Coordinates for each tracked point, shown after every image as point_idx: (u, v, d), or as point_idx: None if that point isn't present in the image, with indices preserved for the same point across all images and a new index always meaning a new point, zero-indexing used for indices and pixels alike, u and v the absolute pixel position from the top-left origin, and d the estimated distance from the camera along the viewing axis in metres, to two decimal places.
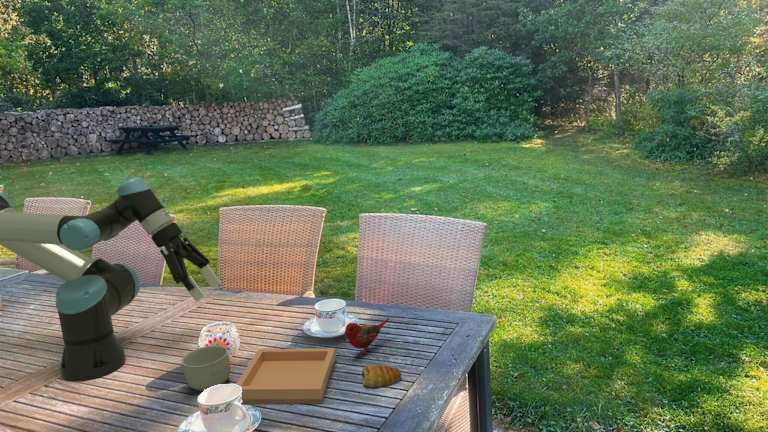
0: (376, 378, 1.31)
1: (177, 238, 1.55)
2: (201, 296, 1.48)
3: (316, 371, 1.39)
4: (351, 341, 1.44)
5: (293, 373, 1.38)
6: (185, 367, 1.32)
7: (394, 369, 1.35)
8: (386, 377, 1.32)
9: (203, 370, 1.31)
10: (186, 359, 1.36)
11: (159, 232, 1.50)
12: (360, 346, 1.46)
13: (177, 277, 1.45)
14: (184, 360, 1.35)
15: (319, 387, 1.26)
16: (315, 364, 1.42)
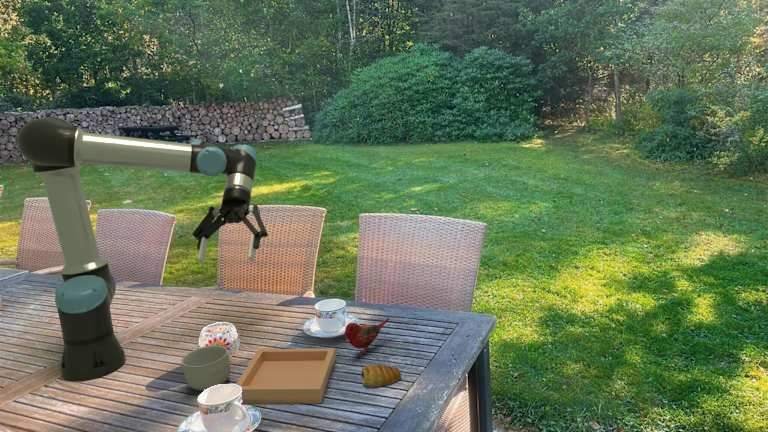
0: (376, 378, 1.32)
1: None
2: (253, 258, 1.50)
3: (316, 371, 1.39)
4: (351, 341, 1.44)
5: (293, 373, 1.38)
6: (185, 367, 1.32)
7: (393, 368, 1.35)
8: (386, 377, 1.32)
9: (203, 370, 1.31)
10: (186, 359, 1.36)
11: (250, 195, 1.60)
12: (360, 346, 1.46)
13: (266, 232, 1.53)
14: (184, 360, 1.35)
15: (319, 387, 1.26)
16: (315, 364, 1.42)
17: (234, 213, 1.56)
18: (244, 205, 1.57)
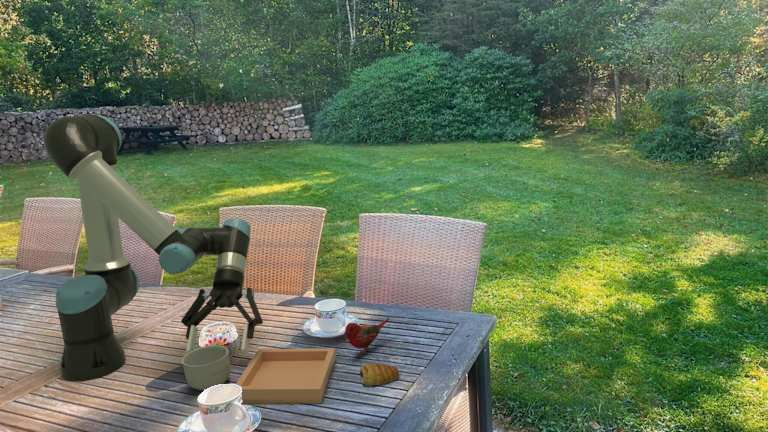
0: (375, 377, 1.32)
1: None
2: (246, 350, 1.39)
3: (316, 371, 1.39)
4: (351, 341, 1.44)
5: (293, 373, 1.38)
6: (186, 367, 1.31)
7: (392, 367, 1.36)
8: (385, 375, 1.33)
9: (204, 370, 1.30)
10: (186, 359, 1.36)
11: (243, 276, 1.49)
12: (360, 346, 1.46)
13: (261, 319, 1.42)
14: (184, 360, 1.35)
15: (319, 387, 1.26)
16: (315, 364, 1.42)
17: (226, 297, 1.45)
18: (237, 288, 1.46)
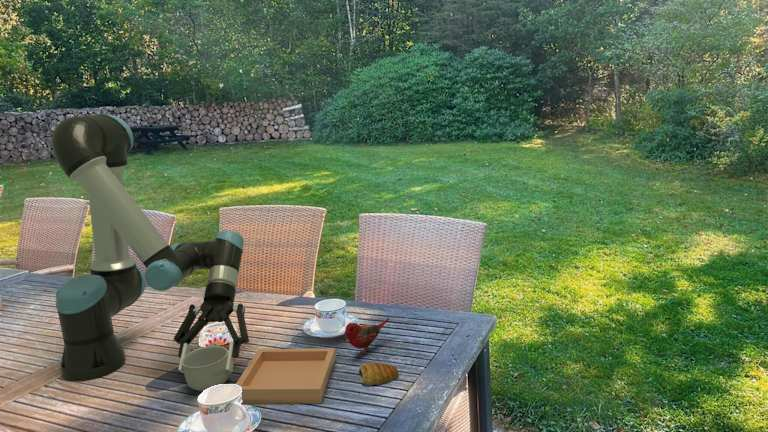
0: (374, 376, 1.32)
1: None
2: (231, 370, 1.35)
3: (316, 371, 1.39)
4: (351, 341, 1.44)
5: (293, 373, 1.38)
6: (186, 368, 1.31)
7: (390, 366, 1.36)
8: (384, 375, 1.33)
9: (205, 370, 1.30)
10: (185, 360, 1.36)
11: (235, 289, 1.46)
12: (360, 346, 1.46)
13: (247, 338, 1.38)
14: (184, 361, 1.34)
15: (319, 387, 1.26)
16: (315, 364, 1.42)
17: (217, 312, 1.42)
18: (228, 302, 1.43)
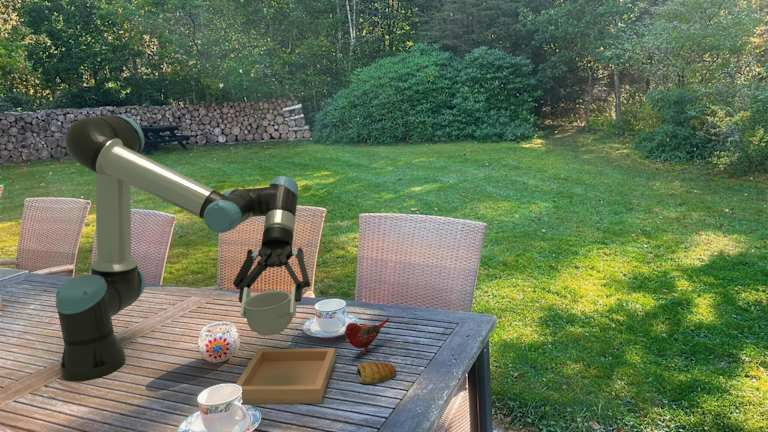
0: (373, 375, 1.33)
1: None
2: (294, 313, 1.30)
3: (316, 371, 1.39)
4: (351, 341, 1.44)
5: (293, 373, 1.38)
6: (250, 310, 1.26)
7: (388, 365, 1.37)
8: (383, 373, 1.34)
9: (270, 312, 1.26)
10: (246, 304, 1.31)
11: None
12: (360, 346, 1.46)
13: (309, 282, 1.34)
14: (245, 305, 1.30)
15: (319, 387, 1.26)
16: (315, 364, 1.42)
17: (276, 256, 1.37)
18: (287, 247, 1.38)
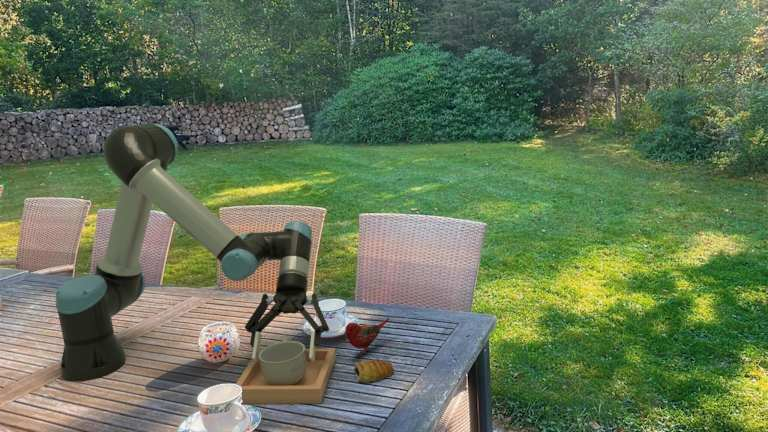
0: (371, 373, 1.34)
1: None
2: (314, 358, 1.33)
3: (316, 371, 1.39)
4: (351, 341, 1.44)
5: None
6: (265, 363, 1.29)
7: (386, 363, 1.38)
8: (381, 371, 1.35)
9: (285, 366, 1.28)
10: (262, 356, 1.34)
11: None
12: (360, 346, 1.46)
13: None
14: (261, 357, 1.33)
15: (319, 387, 1.26)
16: (315, 364, 1.42)
17: (291, 303, 1.39)
18: (301, 293, 1.41)
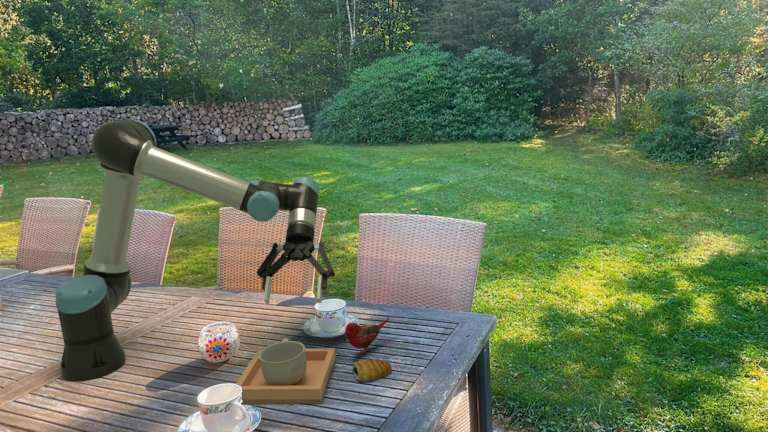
0: (370, 372, 1.34)
1: None
2: (321, 300, 1.43)
3: (316, 371, 1.39)
4: (351, 341, 1.44)
5: None
6: (265, 363, 1.29)
7: (384, 362, 1.39)
8: (379, 370, 1.35)
9: (285, 366, 1.28)
10: (262, 356, 1.34)
11: (314, 231, 1.54)
12: (360, 346, 1.46)
13: None
14: (261, 357, 1.33)
15: (319, 387, 1.26)
16: (315, 364, 1.42)
17: (299, 251, 1.50)
18: (309, 242, 1.51)
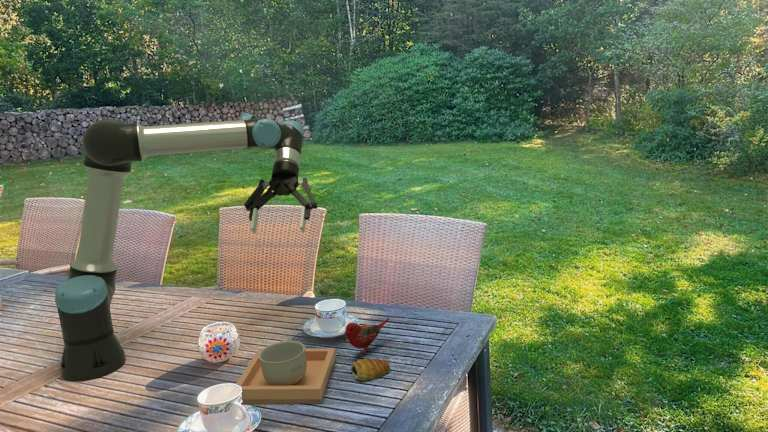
0: (369, 371, 1.35)
1: None
2: (304, 229, 1.54)
3: (316, 371, 1.39)
4: (351, 341, 1.44)
5: None
6: (265, 363, 1.29)
7: (382, 361, 1.39)
8: (378, 369, 1.36)
9: (285, 366, 1.28)
10: (262, 356, 1.34)
11: (298, 169, 1.64)
12: (360, 346, 1.46)
13: (316, 204, 1.57)
14: (261, 357, 1.33)
15: (319, 387, 1.26)
16: (315, 364, 1.42)
17: (284, 185, 1.60)
18: (293, 178, 1.61)
